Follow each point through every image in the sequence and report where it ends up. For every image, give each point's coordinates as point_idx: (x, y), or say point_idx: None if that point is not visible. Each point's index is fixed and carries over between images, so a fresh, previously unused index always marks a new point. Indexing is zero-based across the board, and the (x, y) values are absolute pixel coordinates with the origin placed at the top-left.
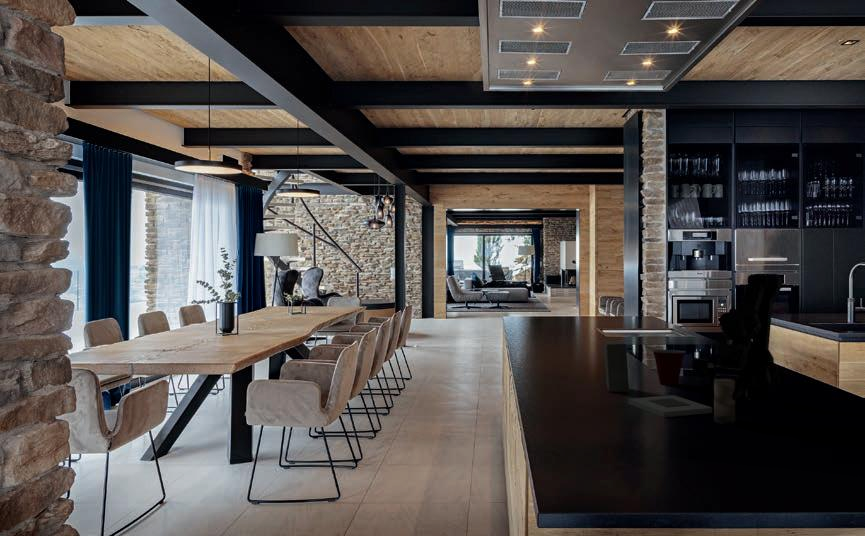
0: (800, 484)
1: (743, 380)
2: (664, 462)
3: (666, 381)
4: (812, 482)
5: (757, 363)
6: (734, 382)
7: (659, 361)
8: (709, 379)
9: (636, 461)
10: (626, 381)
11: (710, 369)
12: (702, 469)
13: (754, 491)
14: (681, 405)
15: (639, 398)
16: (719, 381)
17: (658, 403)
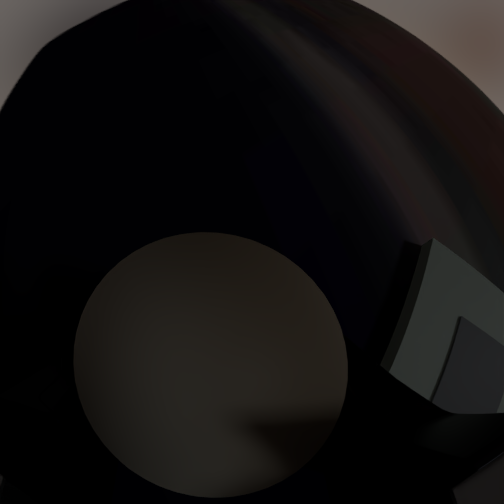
0: (67, 50)
1: (6, 396)
2: (231, 9)
3: None
4: (52, 62)
5: None
6: (78, 347)
7: None
8: (405, 389)
9: (263, 4)
10: None
11: (490, 435)
12: (179, 15)
13: (120, 15)
14: (437, 389)
15: None
16: (232, 238)
17: (489, 339)
